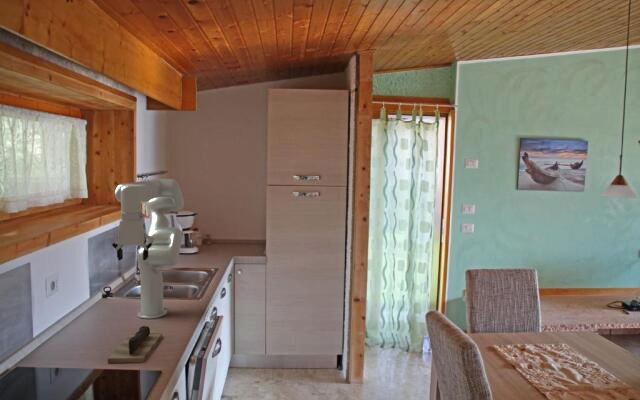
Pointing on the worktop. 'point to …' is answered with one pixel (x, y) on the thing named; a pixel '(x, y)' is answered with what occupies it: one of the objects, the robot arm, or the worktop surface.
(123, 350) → the board
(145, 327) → the hand tool
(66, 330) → the worktop surface
